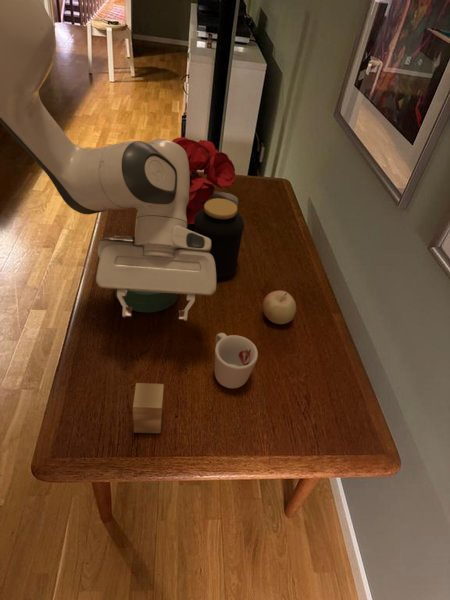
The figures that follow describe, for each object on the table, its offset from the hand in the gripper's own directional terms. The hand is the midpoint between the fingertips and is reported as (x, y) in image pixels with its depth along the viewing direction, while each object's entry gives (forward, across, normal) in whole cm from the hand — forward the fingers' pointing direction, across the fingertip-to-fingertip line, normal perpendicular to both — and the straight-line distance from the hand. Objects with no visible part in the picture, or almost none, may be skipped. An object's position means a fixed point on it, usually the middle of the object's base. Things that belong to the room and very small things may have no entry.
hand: (155, 318), depth 69 cm
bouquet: (-30, +7, +49) cm, 58 cm away
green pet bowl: (-6, -3, +25) cm, 26 cm away
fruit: (-1, +26, +21) cm, 34 cm away
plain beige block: (+18, 0, +2) cm, 18 cm away
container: (-13, +12, +33) cm, 37 cm away
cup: (+10, +14, +10) cm, 20 cm away
